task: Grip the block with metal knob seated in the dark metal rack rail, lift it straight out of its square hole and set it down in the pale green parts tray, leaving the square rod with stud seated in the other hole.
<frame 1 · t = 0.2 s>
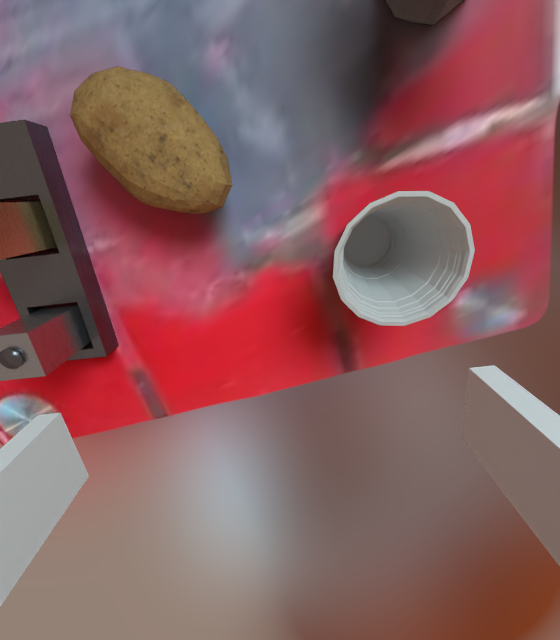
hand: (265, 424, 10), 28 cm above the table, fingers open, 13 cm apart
rack rail: (52, 253, 36), on the table
square rod with stud: (77, 318, 39), resting in rack rail
plastic cup: (363, 243, 36), on the table
block with metal knob: (42, 225, 35), resting in rack rail
potato: (176, 156, 33), on the table
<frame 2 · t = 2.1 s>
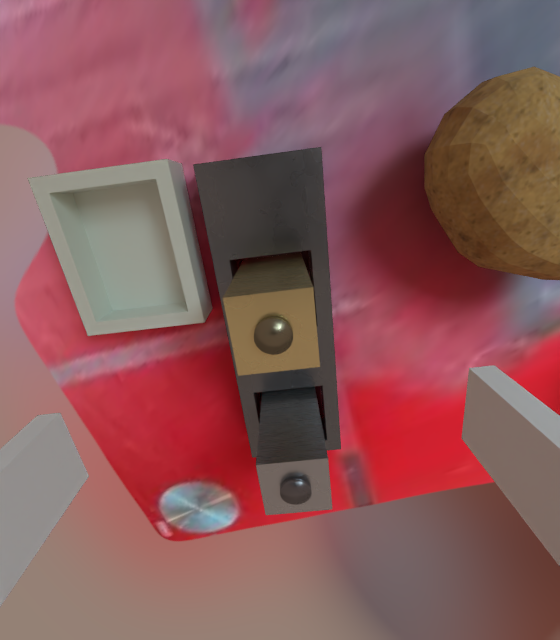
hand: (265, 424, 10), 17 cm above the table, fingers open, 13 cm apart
rack rail: (280, 317, 27), on the table
square rod with stud: (290, 396, 30), resting in rack rail
parts tray: (141, 249, 25), on the table
block with metal knob: (275, 283, 26), resting in rack rail
potato: (482, 191, 23), on the table
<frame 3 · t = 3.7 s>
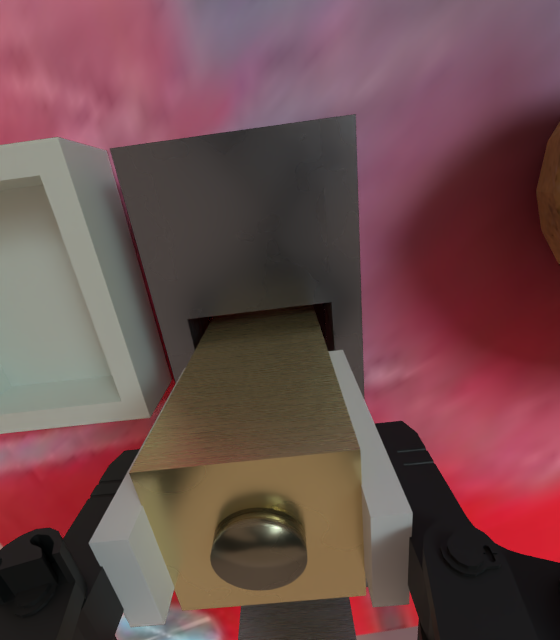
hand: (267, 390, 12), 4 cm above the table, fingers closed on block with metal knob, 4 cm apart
rack rail: (277, 392, 17), on the table
square rod with stud: (293, 498, 20), resting in rack rail
parts tray: (51, 291, 15), on the table
block with metal knob: (270, 343, 16), resting in rack rail, touching gripper
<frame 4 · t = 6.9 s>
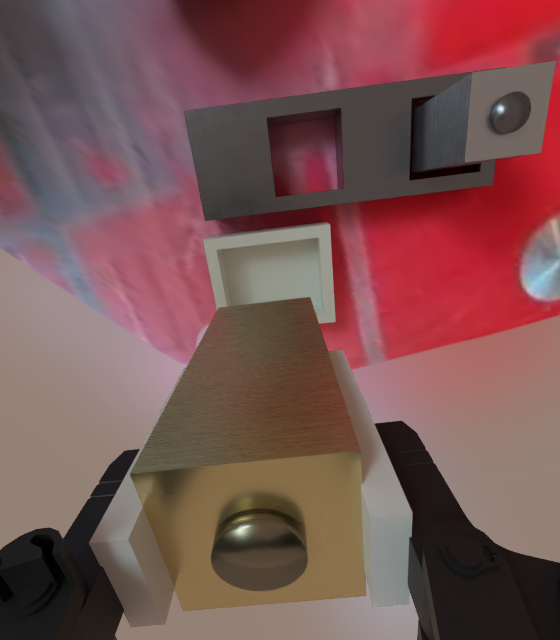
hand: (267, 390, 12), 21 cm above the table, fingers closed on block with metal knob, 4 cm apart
rack rail: (337, 154, 28), on the table
square rod with stud: (429, 142, 28), resting in rack rail
parts tray: (272, 275, 32), on the table
block with metal knob: (270, 343, 16), point 16 cm above the table, touching gripper
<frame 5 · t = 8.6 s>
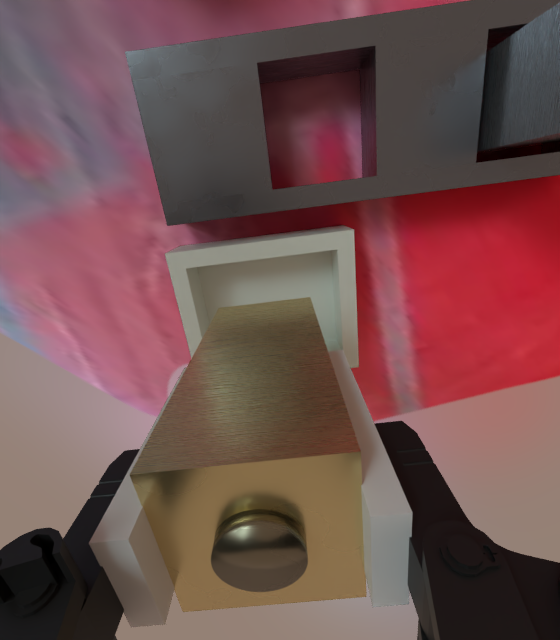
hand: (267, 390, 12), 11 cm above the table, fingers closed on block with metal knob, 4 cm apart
rack rail: (363, 126, 19), on the table
square rod with stud: (499, 108, 19), resting in rack rail
parts tray: (269, 299, 23), on the table
block with metal knob: (270, 343, 16), point 7 cm above the table, touching gripper
when the fingers open (6 cm above the table, at t = 9.9 s): block with metal knob stays where it is, resting on parts tray.
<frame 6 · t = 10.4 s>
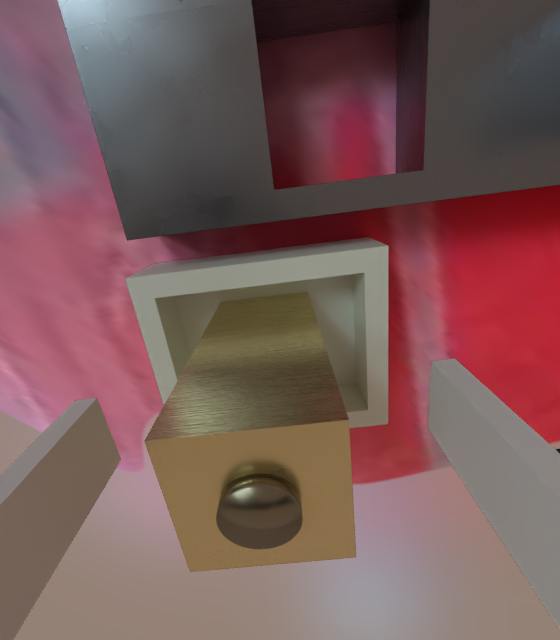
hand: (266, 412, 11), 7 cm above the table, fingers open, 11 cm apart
rack rail: (399, 103, 14), on the table
parts tray: (270, 331, 18), on the table
block with metal knob: (269, 336, 17), point 1 cm above the table, touching parts tray
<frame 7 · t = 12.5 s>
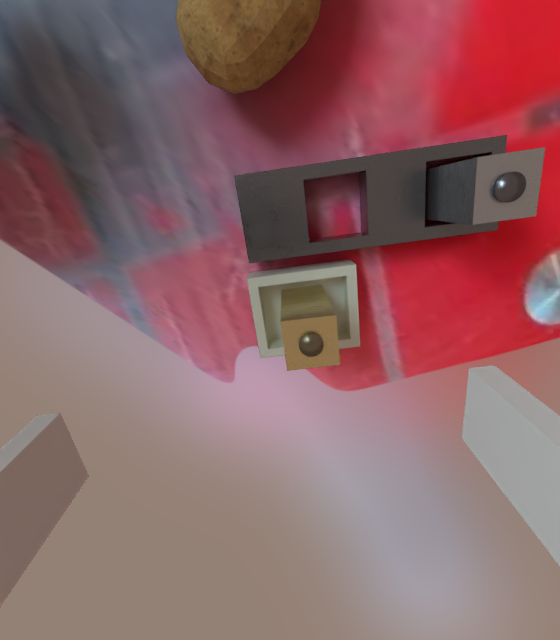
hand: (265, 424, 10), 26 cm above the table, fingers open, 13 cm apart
rack rail: (361, 203, 32), on the table
square rod with stud: (441, 192, 32), resting in rack rail
parts tray: (303, 304, 36), on the table
block with metal knob: (303, 306, 35), point 1 cm above the table, touching parts tray
potato: (259, 22, 27), on the table
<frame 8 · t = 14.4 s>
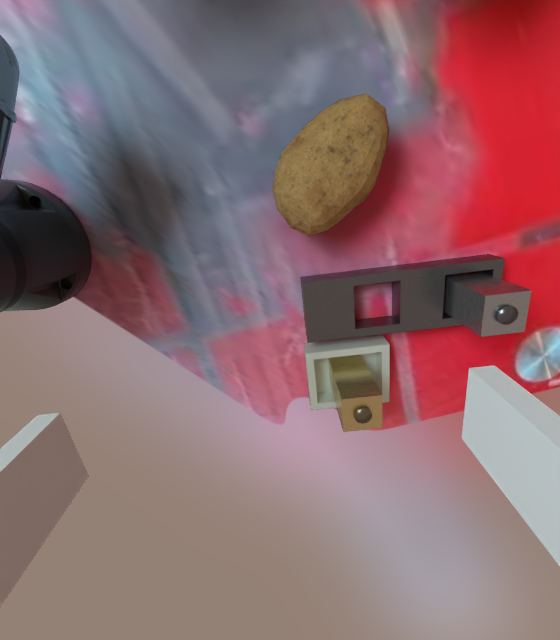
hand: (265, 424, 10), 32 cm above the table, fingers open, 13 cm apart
rack rail: (393, 295, 42), on the table
square rod with stud: (454, 288, 42), resting in rack rail
parts tray: (344, 367, 46), on the table
block with metal knob: (344, 369, 45), point 1 cm above the table, touching parts tray
potato: (324, 171, 37), on the table
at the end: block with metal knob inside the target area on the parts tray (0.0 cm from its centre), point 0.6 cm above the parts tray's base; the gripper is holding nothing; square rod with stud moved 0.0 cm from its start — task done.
